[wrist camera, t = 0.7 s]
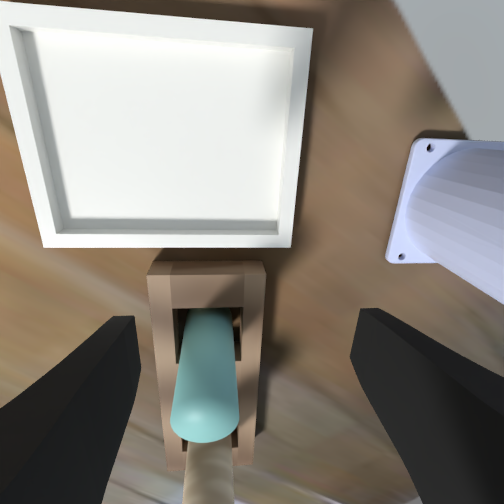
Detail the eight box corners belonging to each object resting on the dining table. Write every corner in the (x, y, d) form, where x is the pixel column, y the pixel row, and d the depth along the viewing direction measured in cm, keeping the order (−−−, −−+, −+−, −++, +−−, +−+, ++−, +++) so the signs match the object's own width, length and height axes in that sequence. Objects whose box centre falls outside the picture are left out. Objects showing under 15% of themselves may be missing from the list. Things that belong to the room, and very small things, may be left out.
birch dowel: (230, 392, 24) (235, 508, 17) (229, 420, 26) (234, 538, 18) (190, 394, 24) (178, 514, 17) (191, 422, 25) (181, 544, 18)
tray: (305, 36, 15) (312, 28, 14) (285, 239, 19) (290, 247, 18) (4, 11, 13) (-18, -1, 12) (56, 238, 18) (43, 247, 17)
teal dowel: (232, 298, 21) (240, 392, 13) (231, 335, 22) (238, 440, 15) (185, 298, 20) (167, 396, 13) (187, 336, 22) (172, 445, 14)
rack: (153, 260, 19) (146, 275, 17) (261, 260, 20) (266, 274, 18) (170, 447, 26) (167, 471, 24) (250, 441, 27) (252, 464, 25)
